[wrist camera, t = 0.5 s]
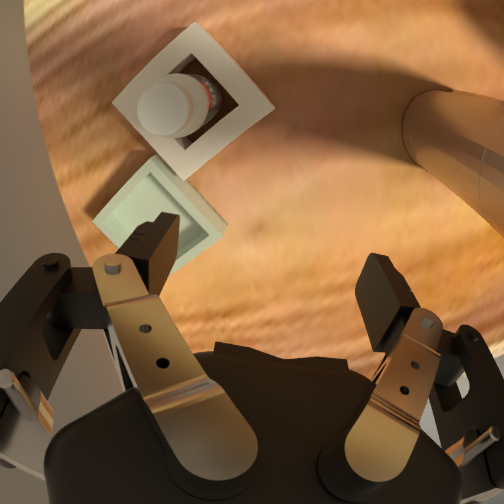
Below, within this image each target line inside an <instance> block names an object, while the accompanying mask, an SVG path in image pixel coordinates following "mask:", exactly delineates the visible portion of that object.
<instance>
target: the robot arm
mask: <svg viewBox="0 0 504 504" xmlns="http://www.w3.org/2000/svg"><path fill="white" fill-rule="evenodd" d="M402 131H403V139H404V144H405V147H406V149H407V151H408V153H409V155H410V156H411V158H412V159H413V160H414V161H415V162H416V163H417V164H418V165H419V166H421V167H422V168H423V169H424V170H425V171H427V172H429V173H430V174H431V175H433V176H434V177H435V178H436V179H438V180H439V181H440V182H441V183H443V184H444V185H445V186H446V187H448V188H449V189H450V190H451V191H453V192H454V193H455V194H456V195H457V196H459V197H460V198H461V199H462V200H463V201H465V202H466V203H467V204H468V205H469V206H470V207H471V208H473V209H474V210H475V211H476V212H477V213H478V214H479V215H480V216H481V217H483V218H484V219H485V220H486V221H487V222H488V223H489V224H490V225H491V226H492V227H493V228H494V229H495V230H496V231H497V232H498V233H499V234H500V235H501V236H502V237H503V238H504V101H503V100H499V99H495V98H491V97H487V96H483V95H478V94H474V93H469V92H464V91H459V90H453V91H451V92H445V91H439V90H431V91H427V92H424V93H422V94H420V95H419V96H417V97H416V98H415V99H414V100H413V101H412V102H411V104H410V105H409V107H408V108H407V110H406V113H405V116H404V119H403V126H402ZM179 226H180V215H178V214H172V213H167V212H161V213H160V214H159V215H158V217H157V218H156V219H155V220H154V222H150V221H146V222H144V223H142V224H140V225H138V226H137V227H136V229H135V230H134V231H133V233H131V235H130V236H129V237H128V239H127V240H126V241H125V242H124V243H123V244H122V246H121V247H120V248H119V249H118V251H117V252H116V253H115V254H108V255H104V256H101V257H99V258H98V259H97V260H95V262H94V263H93V266H92V267H85V268H84V267H71V264H70V259H69V258H68V257H67V256H66V255H64V254H61V253H51V254H46V255H44V256H42V257H40V258H38V259H37V260H36V261H35V262H34V263H33V265H32V266H31V267H30V268H29V269H28V270H27V271H26V272H25V274H24V275H23V276H22V277H21V278H20V279H19V281H18V282H17V283H16V284H15V285H14V286H13V288H12V289H11V290H10V291H9V292H8V294H7V295H6V296H5V298H4V299H3V300H2V301H1V302H0V465H1V466H3V467H6V468H16V467H18V468H20V469H22V470H24V471H26V472H28V473H30V474H32V475H34V476H36V477H38V478H40V479H42V480H45V481H46V485H47V490H48V497H49V504H479V503H481V502H483V501H485V500H487V499H489V498H491V497H492V496H494V495H496V494H498V493H499V492H501V491H503V490H504V379H503V377H502V374H501V372H500V370H499V368H498V366H497V364H496V362H495V360H494V358H493V356H492V354H491V352H490V350H489V348H488V346H487V344H486V343H485V341H484V339H483V337H482V336H481V334H480V333H479V332H478V331H477V330H476V329H474V328H473V327H471V326H469V325H461V326H460V327H459V328H458V330H457V331H456V333H452V332H450V331H447V330H444V329H443V324H442V322H441V320H440V319H439V317H438V316H437V315H436V314H434V313H433V312H431V311H430V310H428V309H425V308H421V307H420V305H419V303H418V301H417V299H416V298H415V296H414V294H413V292H411V289H410V287H409V285H408V283H407V282H406V280H405V278H404V277H403V276H402V275H401V274H400V273H399V272H398V271H397V270H396V269H395V267H394V266H393V264H392V262H391V261H390V259H389V257H388V256H385V255H380V254H376V253H370V254H369V256H368V258H367V260H366V262H365V265H364V267H363V269H362V272H361V274H360V276H359V279H358V281H357V284H356V288H355V296H356V299H357V302H358V305H359V308H360V311H361V314H362V317H363V320H364V323H365V327H366V330H367V333H368V336H369V339H370V343H371V346H372V349H373V352H385V356H384V357H383V359H382V360H381V362H380V364H379V365H378V367H377V369H376V370H375V372H374V374H373V375H372V377H371V379H370V380H369V379H368V378H366V377H365V376H363V375H361V374H359V373H357V372H355V371H352V370H349V368H348V364H347V359H336V358H326V357H307V358H296V359H281V358H278V357H275V356H272V355H270V354H267V353H264V352H261V351H258V350H255V349H253V348H250V347H244V346H238V345H233V344H227V343H221V342H215V347H214V351H206V352H198V353H194V354H193V353H192V351H191V350H190V348H189V346H188V345H187V343H186V342H185V340H184V338H183V337H182V335H181V333H180V332H179V330H178V328H177V327H176V325H175V323H174V322H173V320H172V318H171V317H170V315H169V313H168V311H167V310H166V308H165V306H164V304H163V303H162V301H161V299H160V297H159V295H160V293H161V291H162V288H163V286H164V284H165V282H166V280H167V278H168V276H169V274H170V272H171V270H172V268H173V265H174V263H175V261H176V257H177V251H178V239H179ZM81 329H103V333H104V336H105V339H106V342H107V345H108V348H109V351H110V354H111V356H112V359H113V362H114V364H115V367H116V370H117V373H118V376H119V379H120V382H121V385H122V388H123V391H124V392H123V393H122V394H120V395H118V396H116V397H115V398H113V399H112V400H110V401H108V402H106V403H105V404H103V405H101V406H99V407H98V408H96V409H94V410H93V411H91V412H89V413H87V414H85V415H84V416H82V417H80V418H78V419H77V420H75V421H73V422H71V423H69V424H68V425H66V426H64V427H63V428H62V429H61V430H59V431H58V432H57V433H56V434H55V435H54V437H53V434H52V426H53V420H54V415H53V411H52V408H51V406H50V405H49V403H48V402H47V400H48V398H49V396H50V393H51V391H52V389H53V386H54V384H55V382H56V380H57V378H58V376H59V374H60V371H61V369H62V367H63V365H64V363H65V361H66V359H67V357H68V355H69V353H70V351H71V348H72V346H73V345H74V343H75V341H76V338H77V337H78V335H79V333H80V331H81ZM464 371H465V373H466V375H467V378H468V380H469V384H470V388H469V392H468V394H467V395H466V396H465V397H464V398H463V399H462V397H461V394H460V391H459V389H458V386H457V383H456V381H457V379H458V378H459V377H460V376H461V375H462V374H463V373H464ZM428 397H429V400H430V404H431V407H432V411H433V415H434V418H435V422H436V426H437V430H438V434H439V438H440V442H441V447H442V449H441V448H440V447H439V446H438V445H437V444H436V443H435V442H434V441H433V440H432V439H431V438H430V437H429V436H428V435H427V434H426V433H425V432H424V431H423V430H422V429H421V427H420V425H419V421H420V419H421V416H422V414H423V411H424V408H425V406H426V403H427V400H428Z"/></svg>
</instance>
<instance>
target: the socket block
mask: <svg viewBox="0 0 504 504" xmlns="http://www.w3.org/2000/svg"><path fill="white" fill-rule="evenodd" d="M195 58H197V59H198V60H199V61H200V62H201V63H202V65H203V66H204V67H205V68H206V69H207V70H208V71H209V72H210V73H211V74H212V75H213V76H214V77H215V79H216V80H217V81H218V82H219V83H220V84H221V85H222V86H223V87H224V88H225V90H226V91H227V92H228V93H229V94H230V95H231V96H232V97H233V99H234V100H235V101H236V102H237V103H238V104H239V106H237V107H236V108H235V109H234V110H232V111H231V112H230V113H229V114H227V115H226V116H225V117H224V118H222V119H221V120H220V121H219V122H217V123H216V124H215V125H214V126H213V127H211V128H210V129H209V130H208V131H207V132H205V133H204V134H203V135H202V136H201V137H200V138H198V139H197V140H196V141H195V142H194V143H192V142H191V141H190V140H189V139H188V138H187V137H186V136H184V137H180V138H168V137H164V136H156V135H153V134H151V133H149V132H148V131H146V130H145V129H144V128H143V126H142V125H141V123H140V122H139V119H138V115H137V106H138V102H139V99H140V97H141V95H142V94H143V93H144V92H145V91H146V90H147V89H148V88H149V87H150V86H151V85H152V84H153V83H154V82H155V81H156V80H158V79H160V78H161V77H163V76H166V75H169V74H175V73H179V72H180V71H182V70H183V69H184V68H185V67H186V66H187V65H188V64H190V63H191V62H192V61H193V60H194V59H195ZM112 104H113V105H114V106H115V107H116V108H117V109H118V110H119V111H120V112H121V113H122V115H123V116H124V117H125V118H126V119H127V120H128V121H129V122H130V123H131V124H132V125H133V127H134V128H135V129H136V130H137V131H138V132H139V133H140V134H141V135H142V136H143V137H144V138H145V140H146V141H147V142H148V143H149V144H150V145H151V146H152V147H153V148H154V149H155V150H156V152H157V153H158V154H159V155H160V156H161V157H162V158H163V159H164V160H165V161H166V162H167V163H168V165H169V166H170V167H171V168H172V169H173V170H174V171H175V172H176V173H177V174H178V175H179V176H180V178H181V179H182V180H183V181H185V180H186V179H187V178H188V177H189V176H191V175H192V174H193V173H194V172H195V171H196V170H198V169H199V168H200V167H201V166H202V165H204V164H205V163H206V162H207V161H208V160H210V159H211V158H212V157H213V156H214V155H216V154H217V153H218V152H219V151H221V150H222V149H223V148H224V147H226V146H227V145H228V144H229V143H231V142H232V141H233V140H234V139H236V138H237V137H238V136H240V135H241V134H242V133H243V132H245V131H246V130H247V129H249V128H250V127H251V126H253V125H254V124H255V123H257V122H258V121H259V120H261V119H262V118H263V117H265V116H266V115H267V114H269V113H270V112H272V111H273V110H274V109H275V106H274V105H273V104H272V102H271V101H270V100H269V99H268V98H267V96H266V95H265V94H264V93H263V92H262V90H261V89H260V88H259V87H258V86H257V85H256V83H255V82H254V81H253V80H252V79H251V78H250V77H249V75H248V74H247V73H246V72H245V71H244V70H243V69H242V68H241V66H240V65H239V64H238V63H237V62H236V61H235V60H234V59H233V58H232V57H231V56H230V54H229V53H228V52H227V51H226V50H225V49H224V48H223V47H222V46H221V45H220V44H219V43H218V42H217V41H216V40H215V39H214V38H213V37H212V36H211V35H210V34H209V33H208V32H207V31H206V30H205V29H204V28H203V27H202V26H201V25H199V24H198V23H196V22H194V23H192V24H191V25H190V26H189V27H188V28H186V29H185V30H184V31H183V32H182V33H180V34H179V35H178V36H177V37H176V38H175V39H174V40H173V41H171V42H170V43H169V44H168V45H167V46H166V47H165V48H164V49H163V50H162V51H160V52H159V53H158V54H157V55H156V56H155V57H154V58H153V59H152V60H151V61H150V62H149V63H148V64H147V65H146V66H145V67H144V68H143V69H142V70H141V71H140V72H139V73H138V74H137V75H136V76H135V77H134V78H133V79H132V81H131V82H130V83H129V84H128V85H127V86H126V87H125V88H124V89H123V90H122V91H121V93H120V94H119V95H118V96H117V97H116V98H115V99H114V100H113V102H112Z"/></svg>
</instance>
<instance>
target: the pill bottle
mask: <svg viewBox="0 0 504 504" xmlns="http://www.w3.org/2000/svg"><path fill="white" fill-rule="evenodd" d="M221 100H222V99H221V92H220V89H219V87H218V86H217V84H216V83H215V82H214V81H213V80H212V79H210V78H208V77H206V76H203V75H199V74H180V73H175V74H169V75H166V76H163V77H161V78H160V79H158V80H156V81H155V82H154V83H153V84H152V85H151V86H150V87H149V88H148V89H147V90H146V91H145V92H144V93H143V94H142V95H141V97H140V99H139V102H138V106H137V115H138V119H139V122H140V123H141V125H142V126H143V128H144V129H145V130H146V131H148V132H149V133H151V134H153V135H156V136H164V137H168V138H180V137H184V136H187V135H189V134H191V133H193V132H195V131H196V130H197V129H199V128H201V127H202V126H203V125H205V124H207V123H208V122H209V121H211V120H212V119H213V118H214V117H215V116H216V115H217V113H218V111H219V109H220V106H221Z"/></svg>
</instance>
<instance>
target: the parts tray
mask: <svg viewBox="0 0 504 504" xmlns="http://www.w3.org/2000/svg"><path fill="white" fill-rule="evenodd" d="M161 212H167V213H172V214H178V215H180V226H179V239H178V251H177V257H176V261H175V263H174V265H173V268H172V270H171V272H170V274H169V276H170V275H171V274H172V273H174V272H175V271H177V270H178V269H179V268H181V267H182V266H183V265H185V264H186V263H188V262H189V261H190V260H192V259H193V258H195V257H196V256H197V255H199V254H200V253H201V252H203V251H204V250H206V249H207V248H208V247H210V246H211V245H213V244H214V243H215V242H217V241H218V240H220V239H221V238H223V236H224V233H225V230H226V226H227V223H226V222H225V221H224V220H223V218H222V217H221V216H220V215H219V214H218V213H217V212H216V211H215V210H214V209H213V208H212V206H211V205H210V204H209V203H208V202H207V201H206V200H205V199H204V198H203V197H202V196H201V195H200V193H199V192H198V191H197V190H196V189H195V188H194V187H193V186H192V185H191V184H190V183H189V181H188V180H187V179H186V180H185V181H183V180H182V179H181V178H180V176H179V175H178V174H177V173H176V172H175V171H174V170H173V169H172V168H171V167H170V166H169V165H168V163H167V162H166V161H165V160H164V159H163V158H162V157H161V156H160V155H159V154H158V153H157V154H155V155H154V156H152V157H151V158H150V159H149V160H148V161H147V162H146V163H145V164H144V165H143V166H142V167H141V168H140V169H139V170H138V171H137V172H136V173H135V174H134V175H133V176H132V177H131V178H130V179H129V180H128V181H127V182H126V184H125V185H124V186H123V187H122V188H121V189H120V190H119V191H118V192H117V193H116V194H115V196H114V197H113V198H112V199H111V200H110V201H109V202H108V203H107V205H106V206H105V207H104V208H103V209H102V210H101V212H100V213H99V214H98V215H97V216H96V217H95V219H94V220H93V221H92V222H93V223H94V224H95V225H96V226H97V227H98V228H99V229H100V230H101V231H102V232H103V233H104V234H105V235H106V236H107V237H108V238H109V239H110V240H111V241H112V242H113V243H114V244H115V245H116V246H117V247H118V248H120V247H121V246H122V244H123V243H124V242H125V241H126V240H127V239H128V237H129V236H130V235H131V233H133V231H134V230H135V229H136V227H137V226H138V225H140V224H142V223H144V222H146V221H150V222H154V220H155V219H156V218H157V217H158V215H159V214H160V213H161Z"/></svg>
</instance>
